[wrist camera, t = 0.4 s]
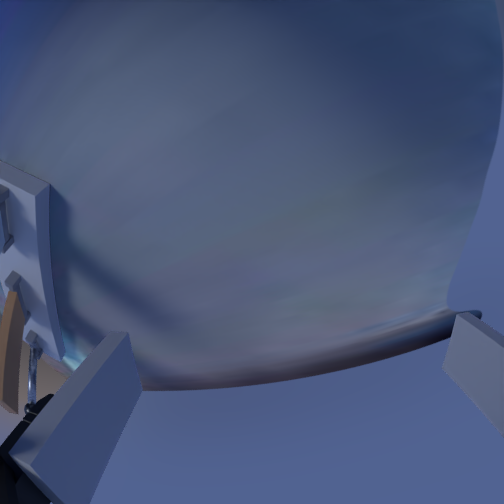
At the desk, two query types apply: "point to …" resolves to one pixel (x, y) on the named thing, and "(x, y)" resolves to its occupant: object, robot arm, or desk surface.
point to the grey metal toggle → (32, 376)
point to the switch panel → (30, 257)
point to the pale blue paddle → (3, 226)
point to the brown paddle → (11, 348)
